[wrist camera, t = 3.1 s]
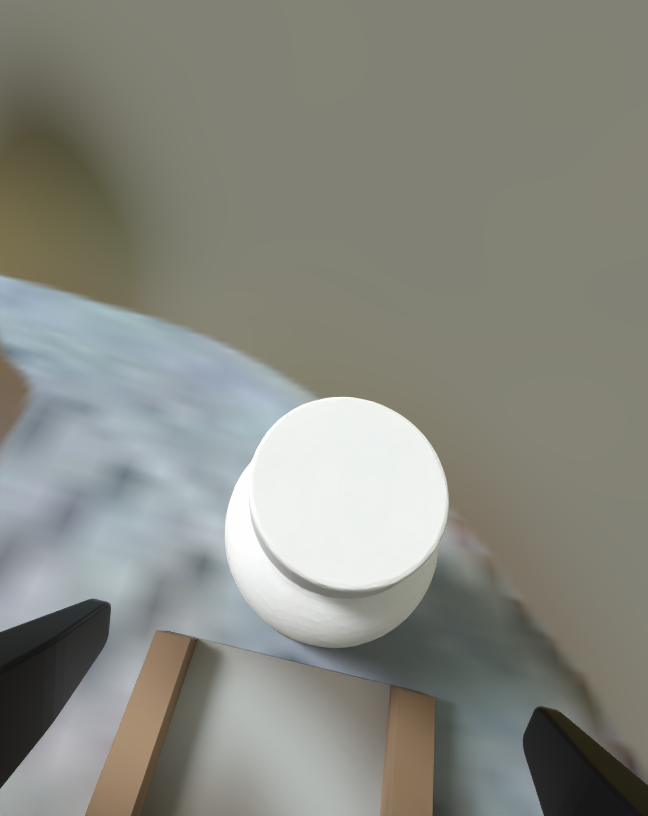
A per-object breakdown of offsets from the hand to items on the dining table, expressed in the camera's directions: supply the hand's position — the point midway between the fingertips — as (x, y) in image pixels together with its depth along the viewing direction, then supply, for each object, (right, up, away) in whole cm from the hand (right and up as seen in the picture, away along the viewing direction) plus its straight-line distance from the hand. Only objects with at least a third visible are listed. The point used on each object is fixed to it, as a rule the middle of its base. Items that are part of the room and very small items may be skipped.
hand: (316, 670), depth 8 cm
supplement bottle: (0, -3, +12) cm, 12 cm away
